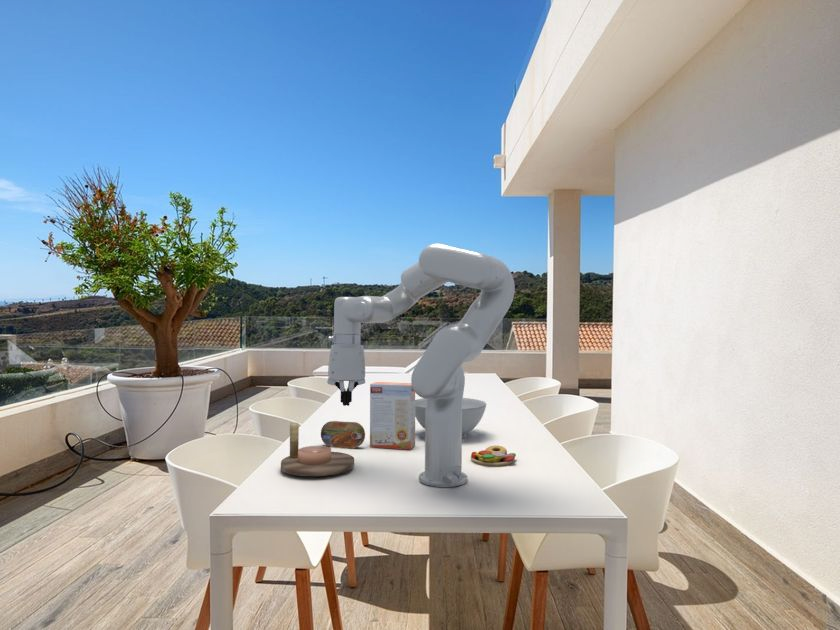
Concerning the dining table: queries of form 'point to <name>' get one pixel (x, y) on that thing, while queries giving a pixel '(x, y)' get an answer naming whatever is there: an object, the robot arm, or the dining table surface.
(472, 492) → the dining table surface
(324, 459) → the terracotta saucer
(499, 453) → the toy food set
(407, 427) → the cracker box
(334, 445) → the tin
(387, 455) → the dining table surface
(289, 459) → the turntable
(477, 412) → the decorative bowl
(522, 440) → the dining table surface
